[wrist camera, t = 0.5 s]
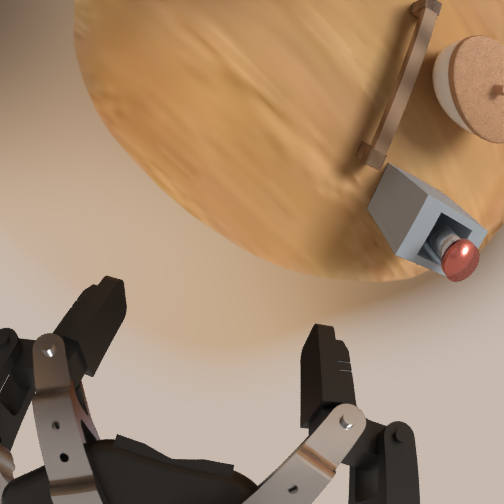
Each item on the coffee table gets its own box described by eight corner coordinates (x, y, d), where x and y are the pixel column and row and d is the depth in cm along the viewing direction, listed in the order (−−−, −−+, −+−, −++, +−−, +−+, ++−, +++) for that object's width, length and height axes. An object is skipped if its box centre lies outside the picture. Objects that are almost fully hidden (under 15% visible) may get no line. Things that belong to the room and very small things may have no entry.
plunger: (436, 212, 26) (460, 237, 21) (460, 226, 26) (485, 252, 21) (417, 245, 28) (437, 274, 23) (442, 257, 28) (463, 286, 23)
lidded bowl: (497, 117, 27) (546, 133, 17) (436, 140, 31) (482, 162, 21) (469, 35, 22) (517, 30, 12) (401, 51, 26) (444, 41, 16)
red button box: (388, 162, 34) (428, 194, 23) (442, 192, 34) (487, 231, 24) (364, 213, 38) (391, 261, 27) (418, 237, 38) (452, 286, 28)
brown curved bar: (413, 2, 21) (428, -6, 18) (426, 10, 22) (441, 4, 18) (355, 155, 34) (365, 164, 30) (369, 161, 34) (380, 170, 30)
